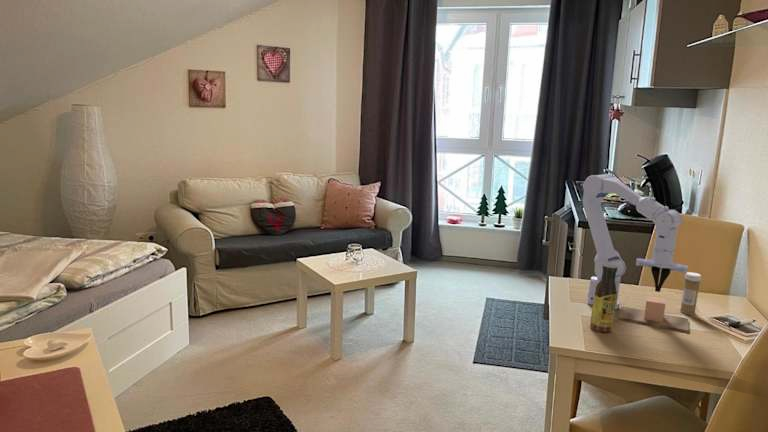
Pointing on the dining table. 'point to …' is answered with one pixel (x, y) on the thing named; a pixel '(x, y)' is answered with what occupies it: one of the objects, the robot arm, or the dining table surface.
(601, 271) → the robot arm
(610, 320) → the sauce bottle
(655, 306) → the pink block
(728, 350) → the dining table surface
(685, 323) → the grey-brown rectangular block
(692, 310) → the sprinkles bottle
